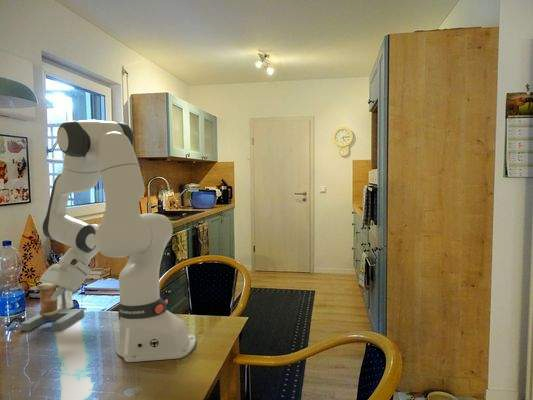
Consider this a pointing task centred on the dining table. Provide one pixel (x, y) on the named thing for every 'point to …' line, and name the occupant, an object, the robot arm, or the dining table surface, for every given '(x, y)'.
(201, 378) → the dining table surface
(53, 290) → the cord reel
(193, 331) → the dining table surface
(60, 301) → the beer glass
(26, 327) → the grey flat piece
